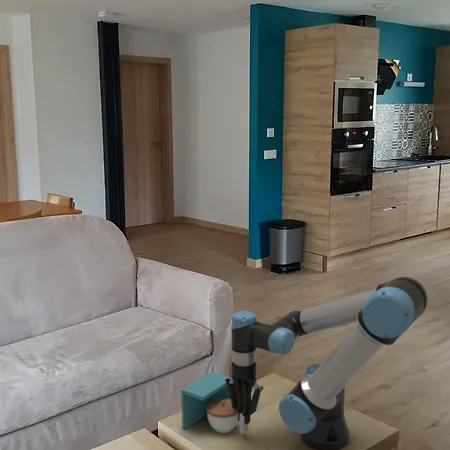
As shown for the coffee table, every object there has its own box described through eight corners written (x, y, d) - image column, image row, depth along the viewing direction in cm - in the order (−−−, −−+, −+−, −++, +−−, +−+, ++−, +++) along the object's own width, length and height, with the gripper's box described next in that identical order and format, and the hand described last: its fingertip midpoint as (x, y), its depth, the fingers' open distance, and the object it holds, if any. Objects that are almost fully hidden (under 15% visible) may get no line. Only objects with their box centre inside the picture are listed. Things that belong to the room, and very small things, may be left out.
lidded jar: (236, 438, 186) (236, 411, 184) (203, 435, 188) (202, 408, 186) (242, 421, 196) (242, 394, 194) (211, 418, 198) (210, 392, 196)
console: (233, 416, 199) (232, 378, 196) (204, 437, 187) (203, 397, 184) (212, 408, 204) (211, 371, 202) (182, 428, 192) (181, 389, 189)
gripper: (268, 362, 181) (268, 432, 186) (233, 352, 189) (234, 420, 193) (254, 371, 175) (254, 443, 180) (219, 360, 183) (220, 430, 187)
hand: (244, 431), depth 187 cm, fingers closed
